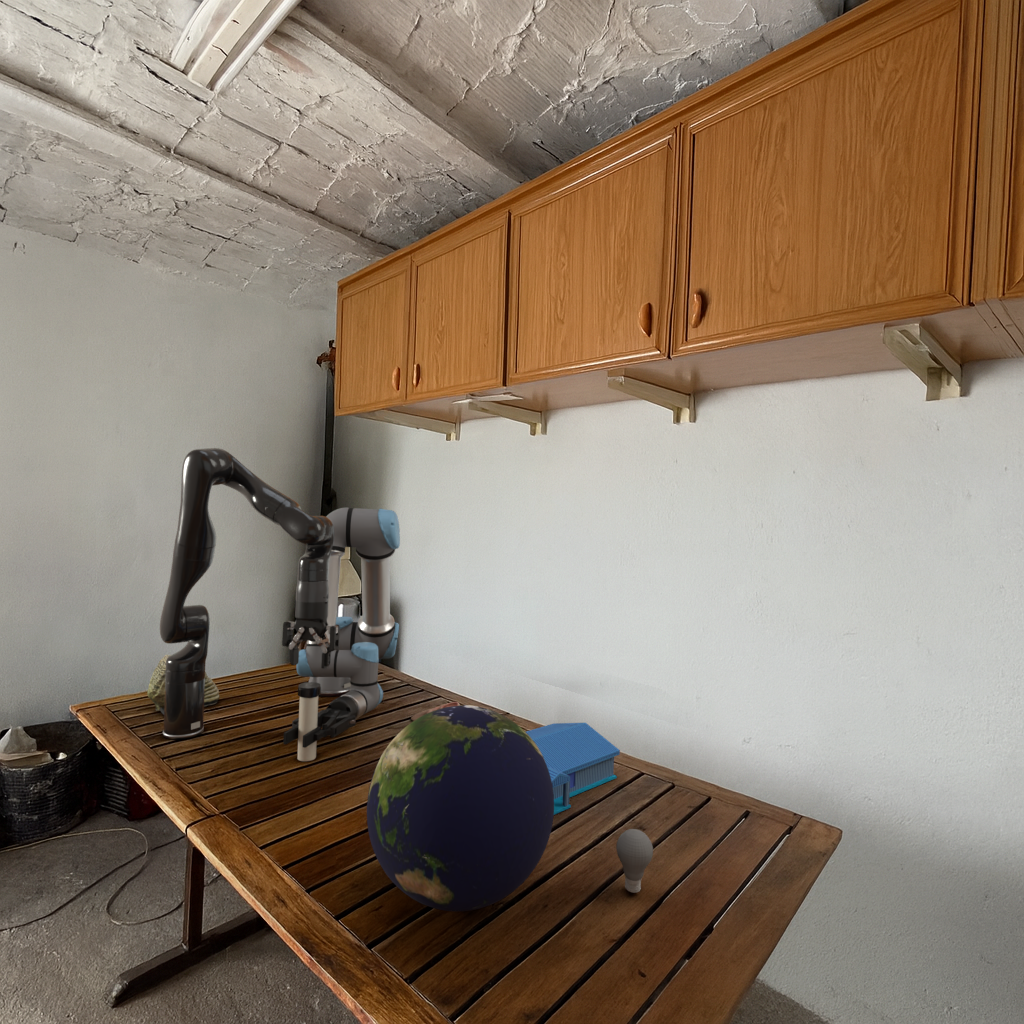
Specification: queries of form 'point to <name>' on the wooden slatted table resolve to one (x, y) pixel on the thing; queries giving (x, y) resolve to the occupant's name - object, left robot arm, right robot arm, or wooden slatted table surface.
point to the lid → (309, 689)
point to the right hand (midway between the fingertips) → (294, 740)
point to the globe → (460, 808)
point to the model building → (574, 759)
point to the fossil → (158, 687)
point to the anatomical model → (434, 710)
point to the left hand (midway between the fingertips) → (309, 666)
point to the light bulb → (634, 857)
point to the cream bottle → (307, 727)
